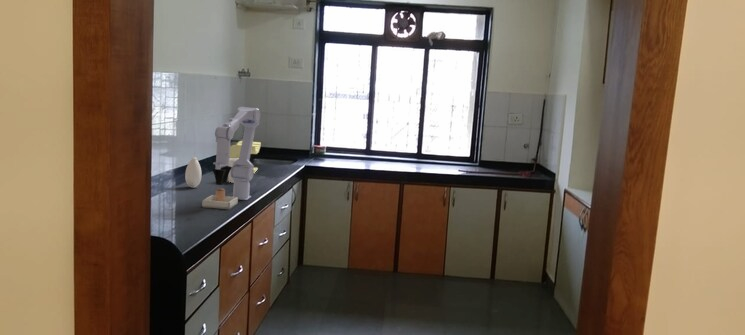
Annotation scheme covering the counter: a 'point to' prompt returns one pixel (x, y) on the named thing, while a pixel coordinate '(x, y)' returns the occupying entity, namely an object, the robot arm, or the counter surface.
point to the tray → (227, 204)
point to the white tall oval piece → (193, 173)
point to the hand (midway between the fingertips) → (221, 183)
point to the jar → (220, 195)
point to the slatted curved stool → (236, 149)
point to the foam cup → (230, 170)
